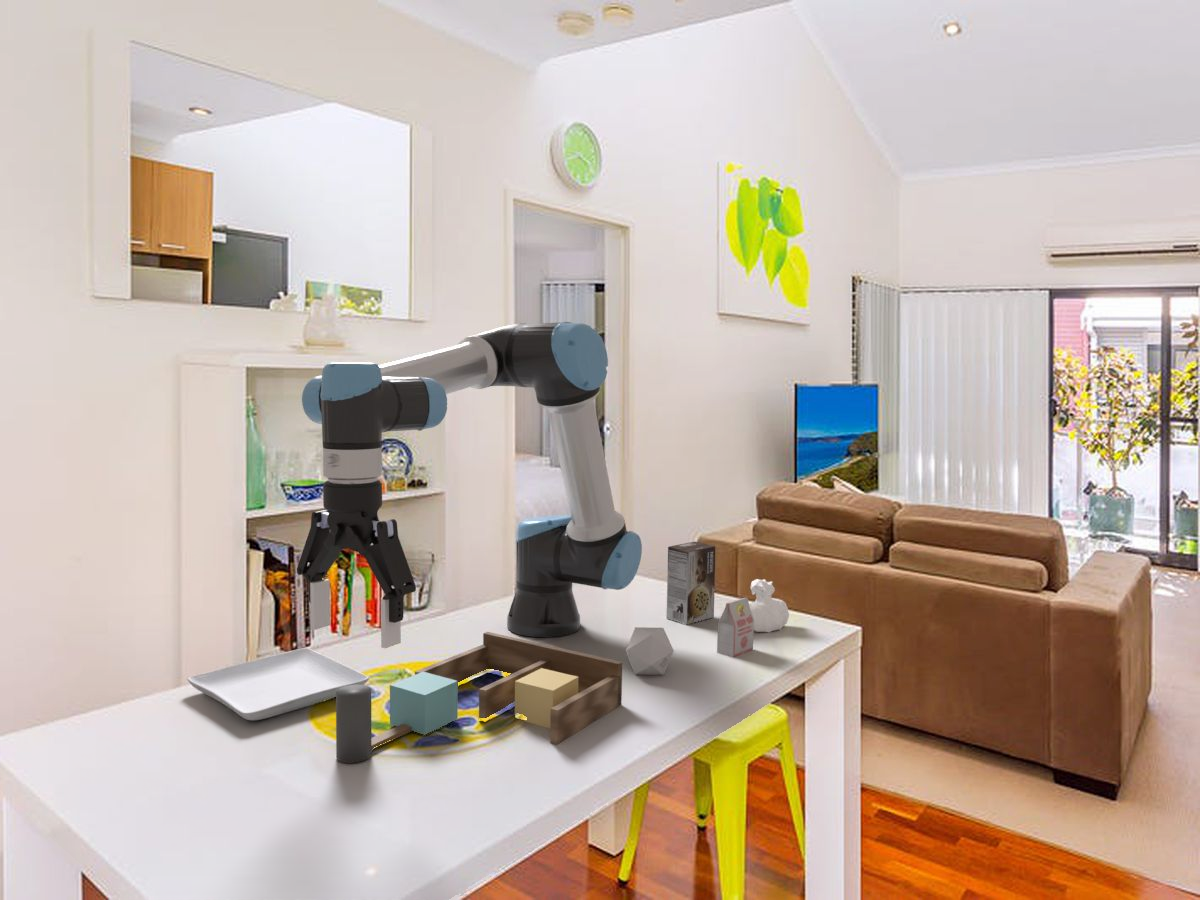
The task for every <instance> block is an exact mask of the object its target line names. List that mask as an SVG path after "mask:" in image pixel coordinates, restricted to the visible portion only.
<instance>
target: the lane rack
mask: <svg viewBox="0 0 1200 900" xmlns="http://www.w3.org/2000/svg"><path fill="white" fill-rule="evenodd" d="M482 636H483V637H482V639H483V641H482V644H481V645H478V646H476V647H472V648H471V649H468V650H466V651H463V652H460V653H458V654H455V655H453V656H451V657H448V658H445V659H443V660H441V661H438V662H435V663H433V664H430V665H428V666H427V665H426V667H423V668H420V669H418V670H415V671H414V675H416V674H419V673H421V672H427V673H430V674H434V675H438V676H441V677H445V678H449V679H452V680H456V681H458V682H460V681H462V680H464V679H466V678H468V677H470V676H472V675H474V674H477V673H479V672H481V671H484V670H486V669H494V670H499V671H503V672H507V673H511V674H510V675H508V676H506V677H501V678H500V679H497V680H496V681H494V682H492V683H488V684H486V685H485V686H482V687H480V688H479V689H478V719H479V718H487V717H489V716H490V715H492V714H494V713H496V712H498V711H500V710H501V709H503V708H505V707H506V706H508V705H509V704H511V703H513V702H514V701H515V681H516V680H518V679H520V678H522V677H524V676H526V675H529V674H531V673H533V672H535V671H537V670H539V669H541V668H543V669H547V670H552V671H556V672H560V673H564V674H569V675H573V676H577V677H578V694H576V695H574V696H572V697H571V698H569V699H567V700H565V701H563V702H562V703H560V704H558V705H556V706H554V707H552V708H551V717H550V728H549V729H550V730H549V731H550V732H549V734H550V736H549V737H550V738H549V741H550V744H554V745H559V744H560V743H562V742H563V741H565V740H567V739H568V738H570V737H572V736H574V735H575V734H576V733H578V732H579V731H582V729H584V728H586V727H588V726H589V725H591V724H592V723H594V722H595V721H597V720H598V719H601V718H602V717H603V716H605V715H607V714H609V713H611V712H612V711H613V710H615V709H616V708H618V707H620V706H622V695H623V694H622V693H623V690H622V689H623V661H619V660H615V659H610V658H606V657H602V656H597V655H593V654H589V653H584V652H579V651H575V650H571V649H568V648H567V649H566V648H561V647H557V646H554V645H550V644H545V643H540V642H535V641H532V640H531V641H530V640H527V639H522V638H517V637H513V636H509V635H504V634H501V633H500V634H499V633H495V632H492V631H491V632H490V631H486V632H484V633H483V634H482Z"/></svg>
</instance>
